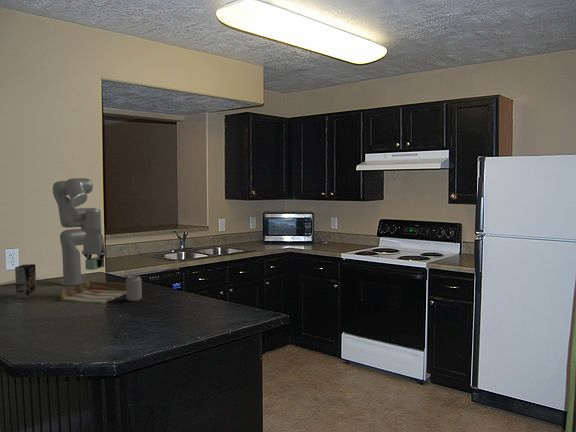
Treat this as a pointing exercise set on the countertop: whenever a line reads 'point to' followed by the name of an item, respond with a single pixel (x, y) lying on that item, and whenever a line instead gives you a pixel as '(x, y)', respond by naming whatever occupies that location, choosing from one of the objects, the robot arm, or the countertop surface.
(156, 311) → the countertop surface
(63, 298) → the corner guide
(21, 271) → the coffee box
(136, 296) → the can
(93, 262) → the block
